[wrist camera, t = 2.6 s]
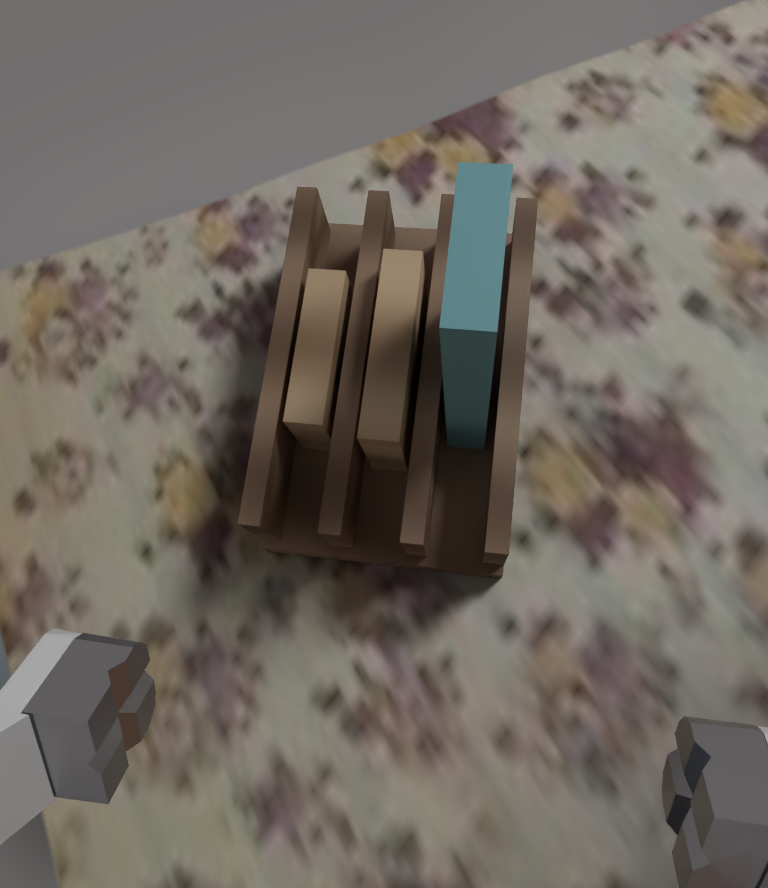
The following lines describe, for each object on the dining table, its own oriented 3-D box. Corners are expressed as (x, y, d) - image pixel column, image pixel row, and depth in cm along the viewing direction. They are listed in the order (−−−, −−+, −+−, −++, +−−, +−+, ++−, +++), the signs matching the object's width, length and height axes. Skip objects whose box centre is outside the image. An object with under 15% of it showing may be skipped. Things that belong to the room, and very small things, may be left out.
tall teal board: (459, 334, 38) (458, 162, 25) (494, 336, 38) (512, 164, 24) (447, 446, 36) (439, 327, 23) (484, 449, 36) (497, 332, 23)
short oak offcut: (394, 303, 39) (383, 248, 34) (428, 305, 39) (422, 251, 33) (372, 468, 36) (356, 437, 31) (408, 472, 36) (398, 441, 31)
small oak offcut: (325, 310, 39) (308, 268, 35) (358, 312, 39) (345, 270, 35) (303, 447, 37) (282, 421, 33) (338, 451, 37) (322, 425, 33)
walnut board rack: (319, 237, 42) (298, 177, 37) (528, 249, 40) (538, 189, 35) (267, 551, 37) (235, 535, 32) (500, 578, 36) (507, 566, 31)
